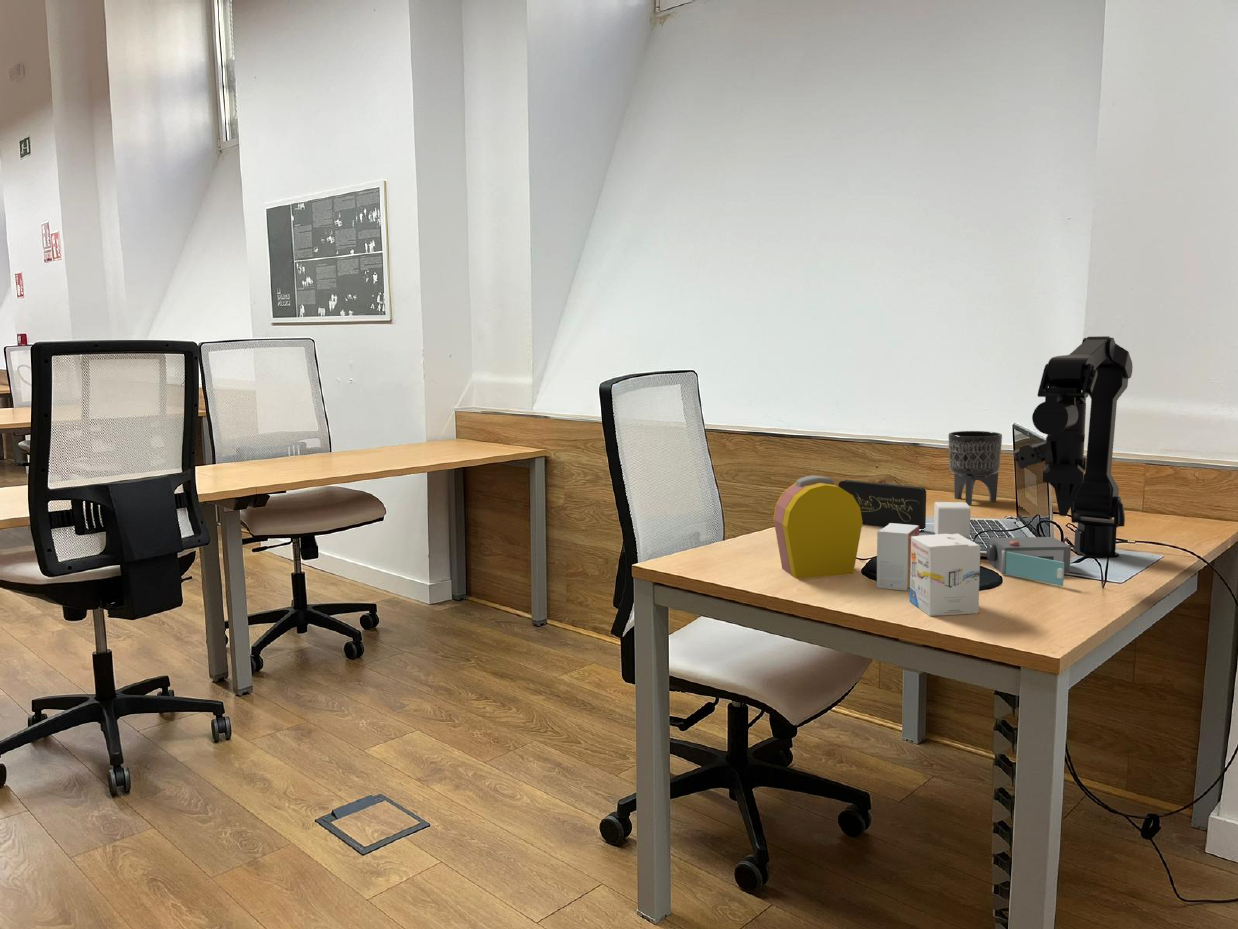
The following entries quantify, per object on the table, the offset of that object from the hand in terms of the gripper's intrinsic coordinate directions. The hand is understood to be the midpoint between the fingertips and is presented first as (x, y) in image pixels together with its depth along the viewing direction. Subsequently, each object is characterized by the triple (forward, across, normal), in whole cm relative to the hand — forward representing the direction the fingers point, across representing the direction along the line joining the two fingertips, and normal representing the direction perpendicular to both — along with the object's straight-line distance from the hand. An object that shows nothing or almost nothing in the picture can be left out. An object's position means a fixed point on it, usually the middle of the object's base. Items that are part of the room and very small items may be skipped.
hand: (1063, 515), depth 165 cm
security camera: (+12, -14, -21) cm, 28 cm away
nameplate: (+12, -34, -39) cm, 54 cm away
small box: (+12, +14, -26) cm, 32 cm away
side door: (+12, +2, -5) cm, 13 cm away
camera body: (+12, -7, -6) cm, 15 cm away
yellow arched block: (+12, +10, -42) cm, 45 cm away
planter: (+12, -71, -24) cm, 76 cm away
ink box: (+12, +24, -16) cm, 32 cm away
